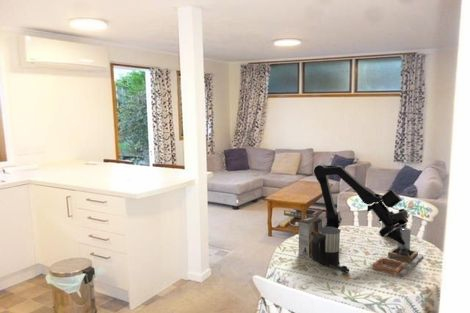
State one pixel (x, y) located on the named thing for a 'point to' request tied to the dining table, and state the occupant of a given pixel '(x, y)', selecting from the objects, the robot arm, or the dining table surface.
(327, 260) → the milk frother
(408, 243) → the grey peg
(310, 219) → the coffee box
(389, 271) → the socket rail
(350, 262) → the dining table surface
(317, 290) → the dining table surface
